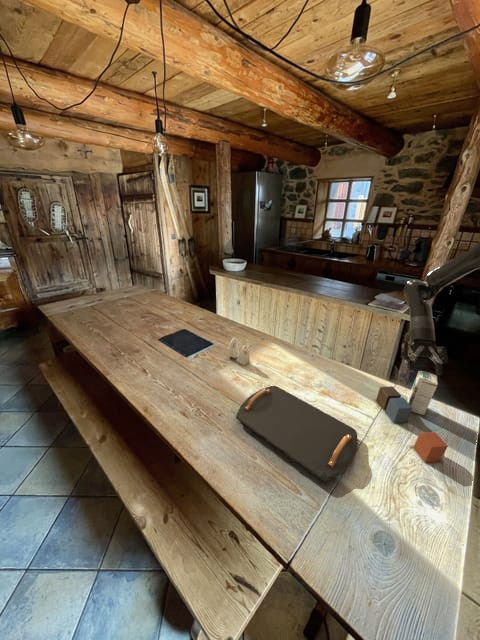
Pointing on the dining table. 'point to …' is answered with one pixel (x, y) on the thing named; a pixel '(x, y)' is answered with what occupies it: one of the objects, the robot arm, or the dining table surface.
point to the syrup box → (422, 391)
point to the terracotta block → (430, 447)
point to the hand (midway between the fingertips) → (425, 373)
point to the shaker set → (234, 352)
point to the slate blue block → (398, 410)
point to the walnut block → (386, 396)
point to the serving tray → (300, 431)
